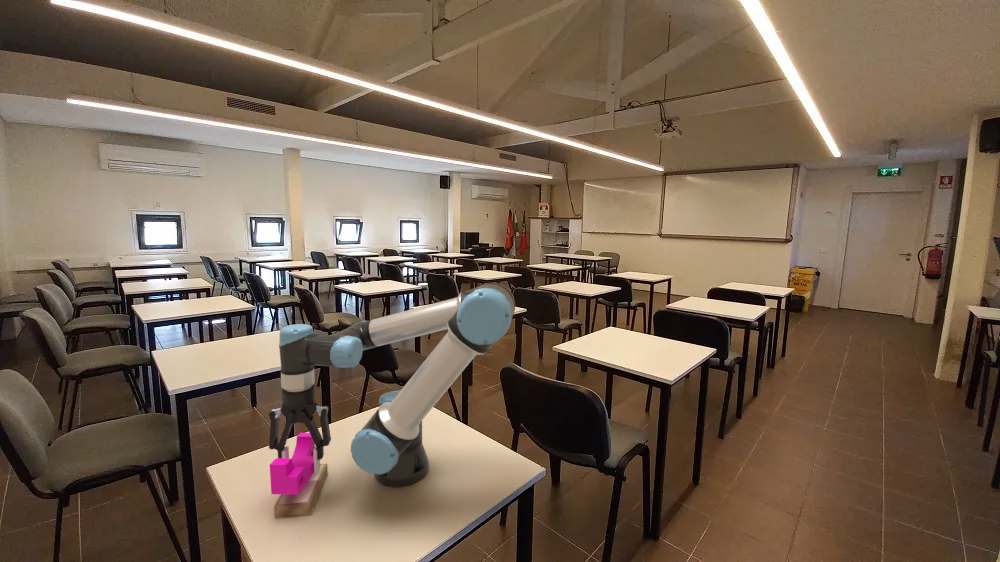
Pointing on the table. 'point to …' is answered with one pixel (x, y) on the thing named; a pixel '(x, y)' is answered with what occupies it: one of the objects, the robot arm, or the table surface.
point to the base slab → (301, 497)
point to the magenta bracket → (293, 468)
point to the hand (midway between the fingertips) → (301, 471)
